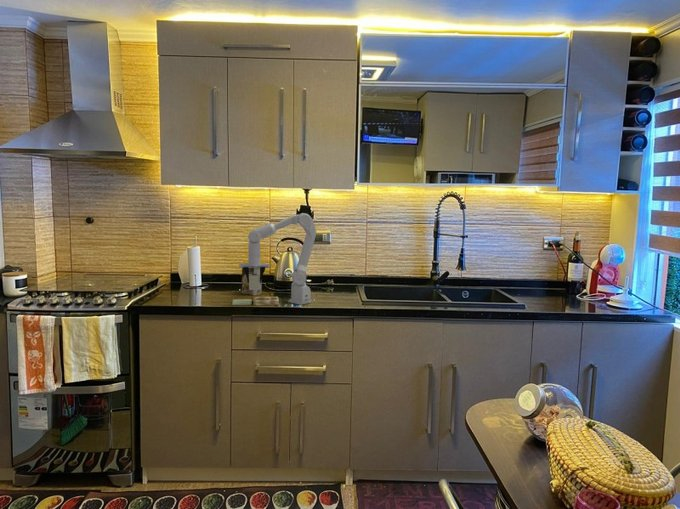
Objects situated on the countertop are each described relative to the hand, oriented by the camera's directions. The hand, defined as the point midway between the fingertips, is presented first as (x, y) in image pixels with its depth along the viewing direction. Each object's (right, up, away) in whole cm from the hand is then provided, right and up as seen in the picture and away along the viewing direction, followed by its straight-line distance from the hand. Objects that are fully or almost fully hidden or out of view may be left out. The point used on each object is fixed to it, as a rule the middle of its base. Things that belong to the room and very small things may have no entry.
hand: (254, 282), depth 229 cm
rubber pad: (-6, -10, +1) cm, 12 cm away
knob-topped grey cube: (0, -3, 0) cm, 3 cm away
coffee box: (-6, -8, +24) cm, 26 cm away
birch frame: (+5, -10, +2) cm, 12 cm away
